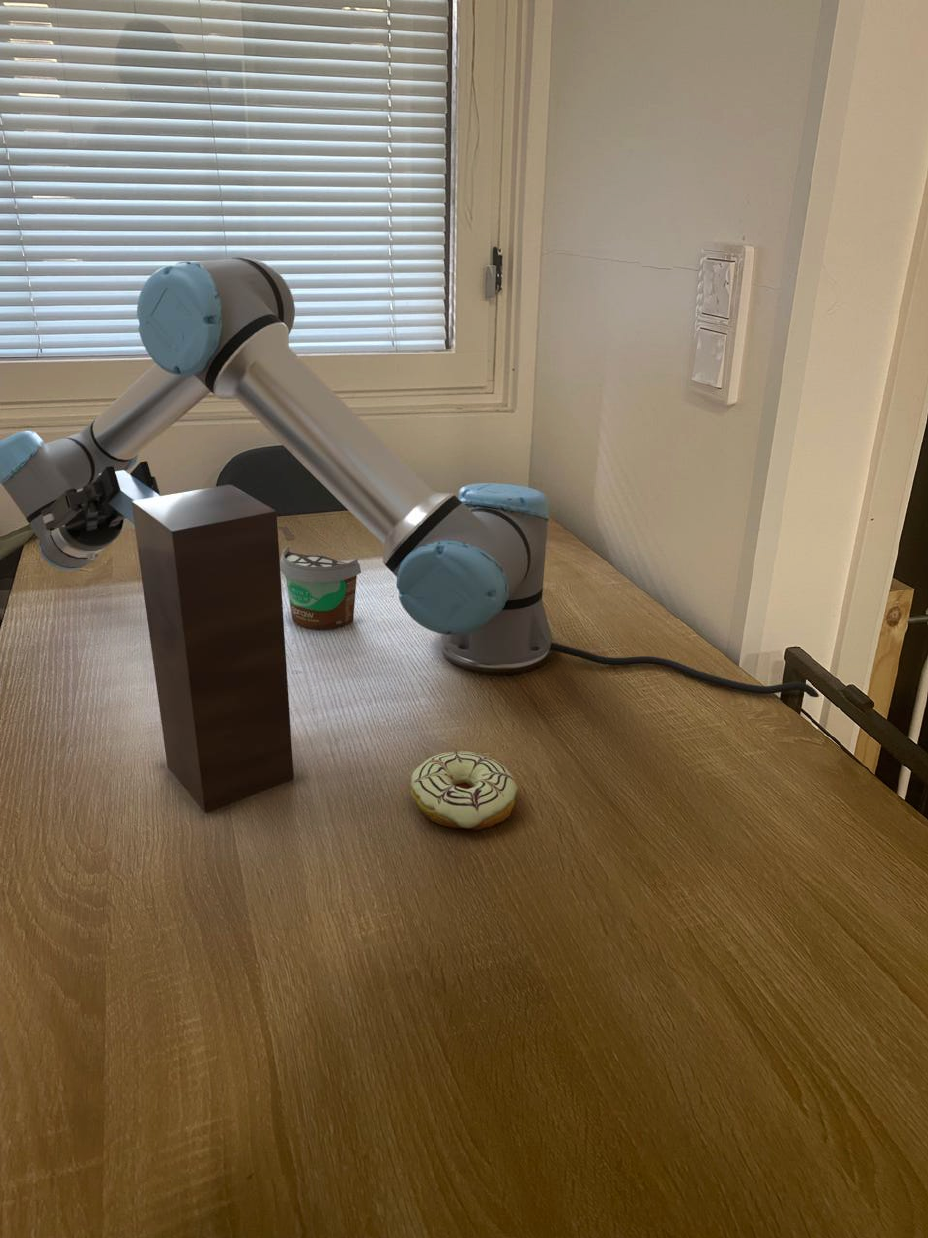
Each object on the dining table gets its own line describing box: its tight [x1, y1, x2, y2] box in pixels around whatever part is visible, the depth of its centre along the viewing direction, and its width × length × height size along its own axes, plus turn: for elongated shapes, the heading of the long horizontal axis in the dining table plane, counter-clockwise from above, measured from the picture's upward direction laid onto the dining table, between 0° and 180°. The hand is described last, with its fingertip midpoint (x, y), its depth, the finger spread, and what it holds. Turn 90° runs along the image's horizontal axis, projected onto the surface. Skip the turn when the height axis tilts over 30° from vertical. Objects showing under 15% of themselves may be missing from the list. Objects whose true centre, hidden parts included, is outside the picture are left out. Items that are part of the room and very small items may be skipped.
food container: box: [280, 545, 362, 631], centre depth 129 cm, size 12×6×10 cm, turn 68°
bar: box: [99, 470, 161, 525], centre depth 100 cm, size 18×3×3 cm, turn 38°
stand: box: [131, 484, 295, 813], centre depth 91 cm, size 10×10×30 cm
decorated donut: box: [410, 750, 519, 831], centre depth 93 cm, size 10×11×4 cm
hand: (130, 475), depth 100 cm, fingers closed on bar, 3 cm apart
